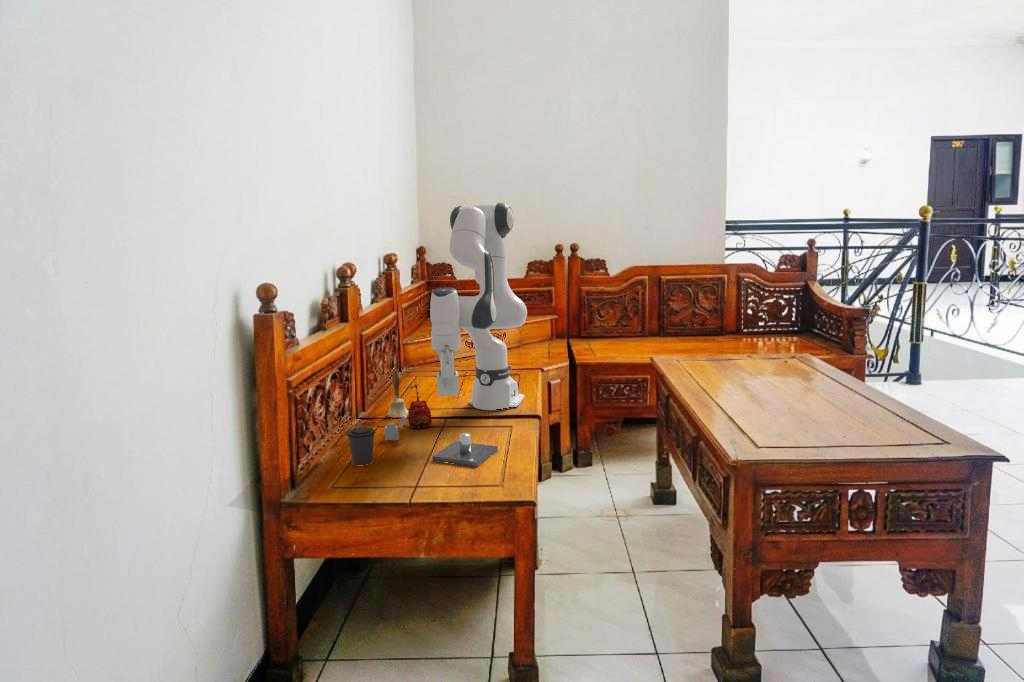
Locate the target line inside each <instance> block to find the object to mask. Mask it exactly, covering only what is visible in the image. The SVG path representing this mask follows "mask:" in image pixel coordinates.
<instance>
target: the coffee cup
mask: <svg viewBox="0 0 1024 682" xmlns="http://www.w3.org/2000/svg"><path fill="white" fill-rule="evenodd" d="M375 434H376V430H375V428H373V427H366V426H361V427H354V428H352V429H349V430H348V431H347V433H346V436H347V437H348V442H349V443H348V444H349V447H350V454H351V459H352V464H353V465H354V464H355V465H366V464H370V463H371V462H372V461H373V459H374V456H373V455H374V445H375V444H374V441H375V440H374V439H375ZM372 463H373V462H372ZM355 465H354V466H355ZM370 465H371V464H370Z"/></svg>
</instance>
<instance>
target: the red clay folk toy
mask: <svg viewBox="0 0 1024 682" xmlns="http://www.w3.org/2000/svg"><path fill="white" fill-rule="evenodd" d="M414 382H415V384H414V385H410V386H409V387H410V389H413V388H415V390H416V401H413V400H412V401H411V402H410V406H409V408H408V417H407V419H408V421H407V423H408V425H409V428H410V429H412V430H414V429H415V430H418V429H423V430H424V429H428V428H431V424H432V412H431V409H430V407H429V405H428V404H427V401H426V400H424V399H423V400H420V397H419V394H420V393H419V392H420V391H418V390H419V389H418V385H419V383H418V384H417V381H416V380H415V381H414Z"/></svg>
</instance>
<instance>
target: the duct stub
mask: <svg viewBox="0 0 1024 682" xmlns="http://www.w3.org/2000/svg"><path fill="white" fill-rule="evenodd" d="M471 436H472V435H471V433H469V432H462V433H459V437H458V438H459V440H455V441H454V442H452V443H450V444H449V445H447V446H446V447H443V448H442V449H441V450H439V451H438V452H437V453H435V454H433V455H432V456H431V458H432V459H431V460H432V462H435V461H439V462H438V463H442V462H448V463H447V464H449V463H454V464H453V465H457V464H461V465H460V466H464V465H469V466H468V467H471V466H475V467H474V468H478V467H479V466H480V465H482V464H483V463H484V462H486V461H487V460H488V459H490V458H491V457H492V456H494V455H495V454H497V453H498V452H499V448H498V446H497V445H489V444H481V443H473V442H472V441H471V440H472V439H471V438H472V437H471ZM494 453H495V454H494ZM491 455H492V456H491ZM490 456H491V457H490ZM489 457H490V458H489ZM486 459H487V460H486ZM485 460H486V461H485ZM481 463H482V464H481ZM477 466H478V467H477Z"/></svg>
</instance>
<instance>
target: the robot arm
mask: <svg viewBox="0 0 1024 682" xmlns="http://www.w3.org/2000/svg"><path fill="white" fill-rule="evenodd" d="M449 223H450V224H449V225H450V229H451V235H450V241H449V251H450V255H451V257H452V258H453V259H454V260H455V261H456V263H459V265H462V266H464V267H467V268H469V269H472V270H474V280H475V281H476V283H477V284H478V285H479V294H477V295H474V296H471V295H470V296H468V295H467V296H466V295H465V296H464V295H459V294H458V291H457V289H456V288H454V287H449V286H447V287H446V286H445V287H439V288H436V289H434V290H433V291H432V292H431V294H430V295H431V296H430V305H429V306H430V308H429V311H430V312H429V314H430V315H429V316H430V317H429V318H430V322H431V331H430V337H431V339H430V340H431V349H432V350H433V351H435V354H436V355H437V356H438V357H439V362H440V372H442V379H443V380H445V390H446V391H451V383H452V379H454V371H455V361H454V360H455V359H454V358H455V357H454V355H456V354H458V350H459V349H461V348H462V336H461V333H462V331H461V329H463V330H464V331H465V333H467V334H468V335H469V337H470V338H471V341H472V342H473V343H472V344H473V345H474V351H475V361H476V363H475V364H476V367H475V370H474V373H475V379H474V380H473V382H472V391H471V392H472V393H471V395H472V396H471V397H472V398H471V399H470V400H469V401H468V402H469V404H470V405H472V406H473V408H475V409H478V410H482V411H497V410H496V409H502V410H504V409H503V408H507V409H510V408H509V407H517V406H518V405H519V406H520V404H521V403H522V401H524V399H525V394H523V393H519V385H518V383H517V381H516V380H514V379H513V378H512V377H511V372H510V371H512V369H513V367H512V366H513V365H512V364H508V347H507V344H506V343H505V342H504V341H503V340H501V339H499V338H497V337H496V336H493V334H491V331H490V330H493V329H494V330H504V329H505V330H507V329H514V328H515V329H516V328H519V327H522V326H523V325H524V324H525V322H526V320H527V317H528V308H527V306H526V303H525V302H524V301H523V300H522V299H521V298H519V297H518V296H517V295H516V294H515V293H514V291H513V290H512V289H511V287H510V284H509V282H508V281H509V280H508V276H507V256H506V255H507V252H506V251H507V250H506V242H505V238H506V236H507V235H508V234H510V232H511V230H512V228H513V226H514V211H513V209H512V207H511V206H510V205H509V204H508V203H505V202H497V203H495V202H480V203H477V204H476V203H474V204H467V205H458V206H456V207H454V208H453V210H452V211H451V212H450V217H449ZM519 406H518V407H519ZM518 407H517V408H518Z"/></svg>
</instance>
